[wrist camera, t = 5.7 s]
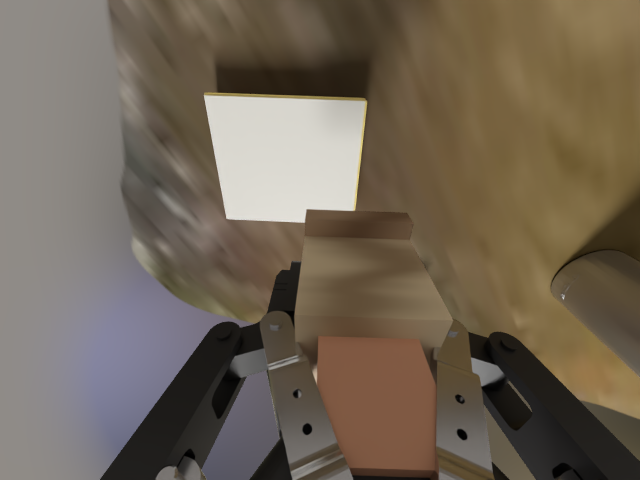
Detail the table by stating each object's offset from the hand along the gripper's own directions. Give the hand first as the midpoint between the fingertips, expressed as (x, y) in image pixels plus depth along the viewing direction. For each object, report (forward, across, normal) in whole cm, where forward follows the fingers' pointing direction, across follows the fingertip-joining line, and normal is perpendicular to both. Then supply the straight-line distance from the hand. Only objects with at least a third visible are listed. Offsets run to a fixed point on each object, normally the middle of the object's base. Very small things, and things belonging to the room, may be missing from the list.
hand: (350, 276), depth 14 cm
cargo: (-5, 0, 0) cm, 5 cm away
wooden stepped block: (+1, 0, 0) cm, 1 cm away
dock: (+17, +5, -2) cm, 18 cm away
